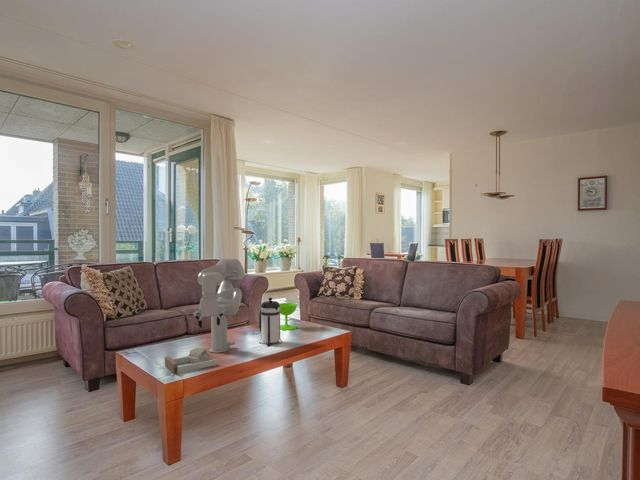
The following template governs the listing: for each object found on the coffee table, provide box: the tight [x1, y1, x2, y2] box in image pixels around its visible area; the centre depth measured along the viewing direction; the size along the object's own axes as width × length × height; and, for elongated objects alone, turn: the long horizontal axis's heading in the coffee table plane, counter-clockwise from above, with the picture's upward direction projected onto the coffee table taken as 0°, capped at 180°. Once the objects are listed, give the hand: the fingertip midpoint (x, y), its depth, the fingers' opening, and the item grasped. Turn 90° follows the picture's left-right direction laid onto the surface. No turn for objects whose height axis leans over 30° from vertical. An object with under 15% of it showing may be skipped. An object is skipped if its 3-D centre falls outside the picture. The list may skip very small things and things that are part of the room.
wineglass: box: [279, 302, 298, 332], centre depth 290 cm, size 16×16×18 cm
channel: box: [164, 355, 218, 375], centre depth 205 cm, size 23×16×5 cm
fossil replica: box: [188, 347, 211, 364], centre depth 207 cm, size 12×8×10 cm
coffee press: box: [258, 297, 283, 347], centre depth 249 cm, size 17×16×30 cm
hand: (209, 326), depth 213 cm, fingers open, 9 cm apart
